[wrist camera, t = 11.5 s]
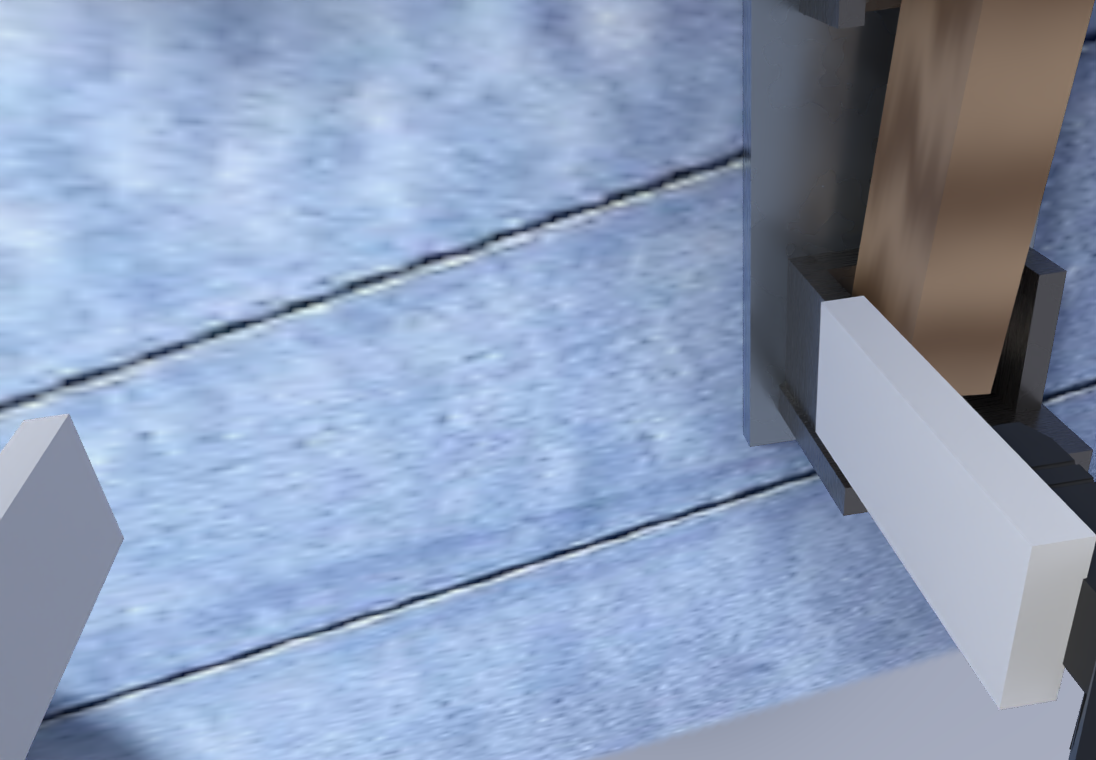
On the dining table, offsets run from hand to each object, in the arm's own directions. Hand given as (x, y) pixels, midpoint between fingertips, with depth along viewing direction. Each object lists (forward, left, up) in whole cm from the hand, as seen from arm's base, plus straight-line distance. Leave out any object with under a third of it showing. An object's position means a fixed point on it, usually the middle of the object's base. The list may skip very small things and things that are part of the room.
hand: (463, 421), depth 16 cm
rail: (+4, +20, -24) cm, 31 cm away
